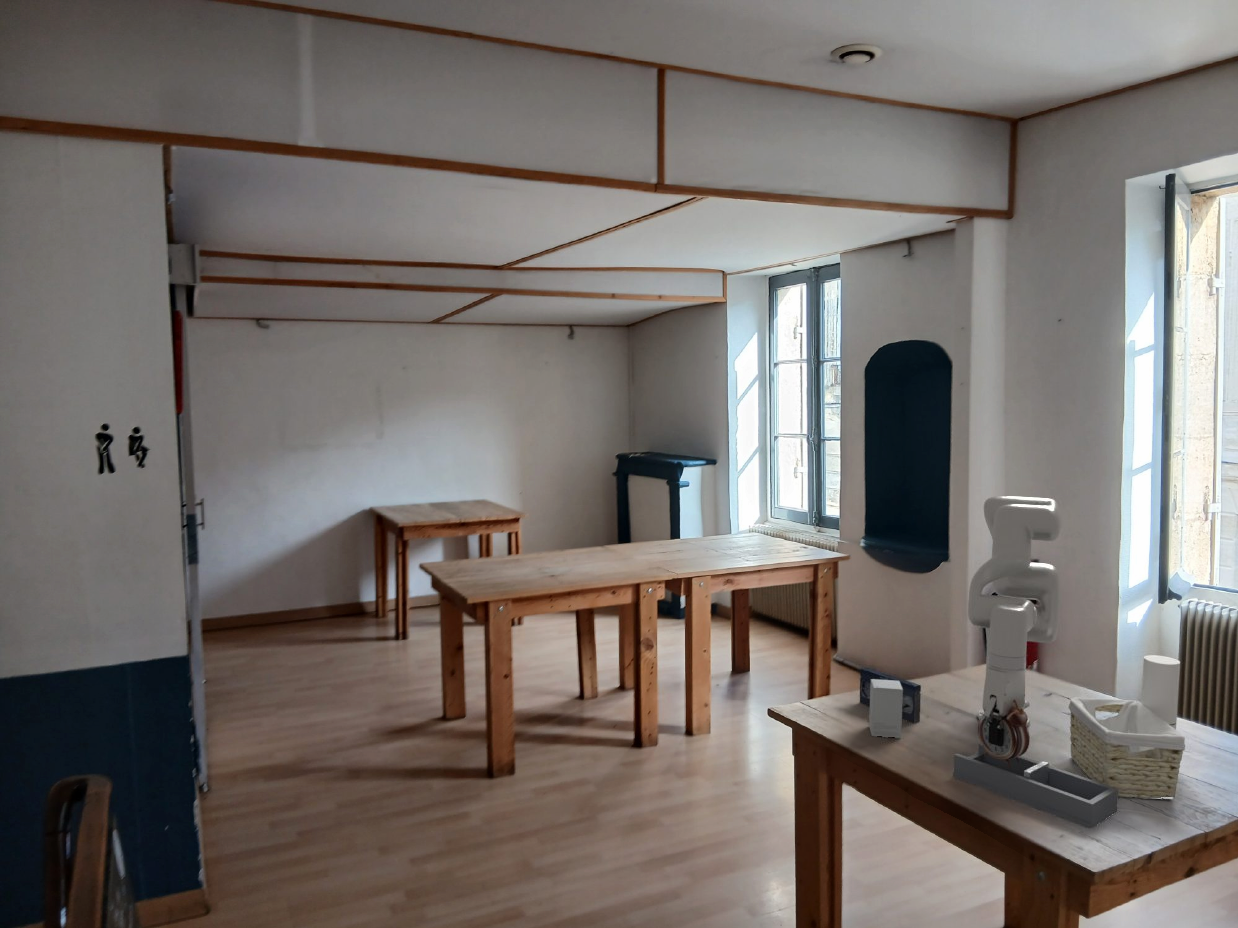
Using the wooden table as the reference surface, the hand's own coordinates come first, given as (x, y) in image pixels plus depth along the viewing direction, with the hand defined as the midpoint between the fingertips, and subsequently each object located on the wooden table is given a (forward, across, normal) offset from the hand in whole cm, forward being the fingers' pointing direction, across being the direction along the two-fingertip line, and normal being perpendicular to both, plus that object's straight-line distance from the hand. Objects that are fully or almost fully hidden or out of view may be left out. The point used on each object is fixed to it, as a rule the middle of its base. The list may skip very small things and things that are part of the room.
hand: (1003, 740), depth 195 cm
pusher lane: (+10, 0, +7) cm, 12 cm away
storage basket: (+10, -24, +15) cm, 30 cm away
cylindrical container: (+10, -38, +17) cm, 43 cm away
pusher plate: (+8, 0, +8) cm, 11 cm away
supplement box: (+10, -4, -33) cm, 35 cm away
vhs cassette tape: (+10, -17, -41) cm, 46 cm away
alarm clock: (+5, 0, 0) cm, 5 cm away
